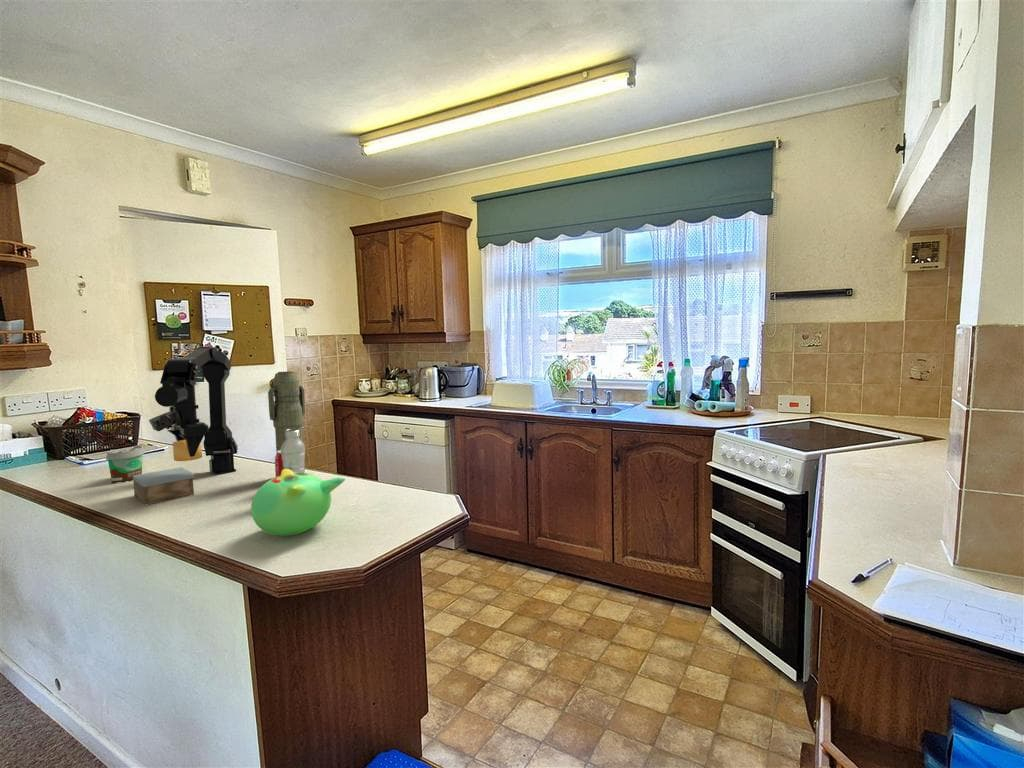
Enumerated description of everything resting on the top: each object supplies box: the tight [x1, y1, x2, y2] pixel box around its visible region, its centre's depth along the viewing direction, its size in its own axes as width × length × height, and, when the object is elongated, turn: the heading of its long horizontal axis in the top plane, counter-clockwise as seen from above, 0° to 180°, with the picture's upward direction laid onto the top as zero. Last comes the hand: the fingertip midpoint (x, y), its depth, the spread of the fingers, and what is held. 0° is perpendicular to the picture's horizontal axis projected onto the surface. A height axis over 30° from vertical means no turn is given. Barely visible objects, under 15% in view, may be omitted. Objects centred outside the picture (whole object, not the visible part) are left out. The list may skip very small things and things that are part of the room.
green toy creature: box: [250, 469, 346, 537], centre depth 119 cm, size 18×17×15 cm
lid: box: [133, 467, 196, 487], centre depth 147 cm, size 12×12×1 cm
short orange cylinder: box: [172, 440, 203, 462], centre depth 148 cm, size 7×7×5 cm
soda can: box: [274, 450, 284, 477], centre depth 152 cm, size 7×7×12 cm
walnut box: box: [132, 478, 195, 506], centre depth 147 cm, size 12×12×5 cm
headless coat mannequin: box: [267, 371, 306, 473], centre depth 164 cm, size 9×12×35 cm
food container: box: [105, 445, 146, 484], centre depth 165 cm, size 12×6×10 cm, turn 179°
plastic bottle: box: [281, 429, 306, 473], centre depth 142 cm, size 6×7×20 cm
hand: (187, 454), depth 148 cm, fingers closed on short orange cylinder, 7 cm apart
